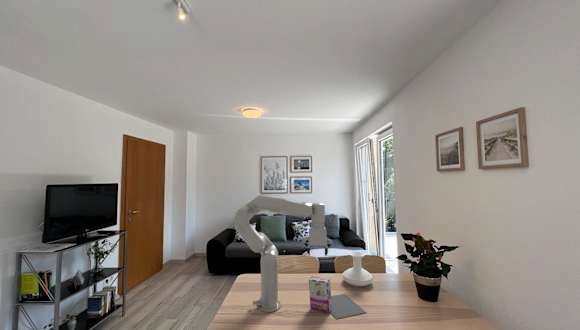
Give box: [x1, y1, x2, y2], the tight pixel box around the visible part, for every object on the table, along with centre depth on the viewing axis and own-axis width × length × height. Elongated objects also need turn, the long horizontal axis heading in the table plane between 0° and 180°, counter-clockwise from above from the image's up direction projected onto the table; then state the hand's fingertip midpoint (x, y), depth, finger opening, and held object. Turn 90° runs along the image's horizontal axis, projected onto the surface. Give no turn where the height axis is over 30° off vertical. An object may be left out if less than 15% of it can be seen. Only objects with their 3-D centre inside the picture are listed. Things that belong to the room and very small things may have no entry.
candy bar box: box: [308, 276, 332, 314], centre depth 135 cm, size 11×5×16 cm, turn 62°
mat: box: [329, 293, 367, 320], centre depth 139 cm, size 18×22×1 cm
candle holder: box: [342, 251, 373, 288], centre depth 169 cm, size 20×20×19 cm
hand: (317, 254), depth 140 cm, fingers open, 9 cm apart
